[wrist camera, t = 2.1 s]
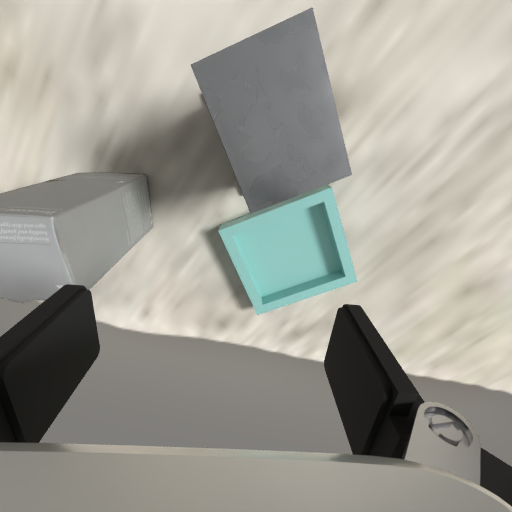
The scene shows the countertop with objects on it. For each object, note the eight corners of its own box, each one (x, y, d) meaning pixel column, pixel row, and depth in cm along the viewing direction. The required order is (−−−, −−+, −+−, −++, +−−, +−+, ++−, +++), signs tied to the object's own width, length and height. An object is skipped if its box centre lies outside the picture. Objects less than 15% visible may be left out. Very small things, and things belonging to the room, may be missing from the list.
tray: (220, 225, 33) (218, 230, 31) (326, 184, 31) (331, 187, 29) (256, 305, 38) (257, 315, 36) (350, 273, 36) (357, 281, 34)
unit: (204, 92, 28) (165, 51, 15) (288, 54, 27) (325, -26, 14) (245, 194, 32) (242, 232, 19) (319, 165, 31) (370, 183, 18)
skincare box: (148, 173, 31) (56, 203, 16) (155, 233, 33) (83, 306, 19) (71, 171, 30) (-94, 200, 16) (85, 232, 33) (-44, 305, 19)
